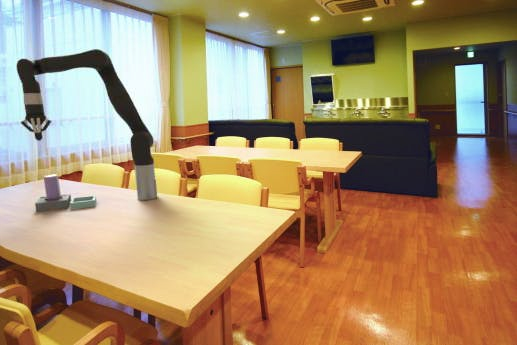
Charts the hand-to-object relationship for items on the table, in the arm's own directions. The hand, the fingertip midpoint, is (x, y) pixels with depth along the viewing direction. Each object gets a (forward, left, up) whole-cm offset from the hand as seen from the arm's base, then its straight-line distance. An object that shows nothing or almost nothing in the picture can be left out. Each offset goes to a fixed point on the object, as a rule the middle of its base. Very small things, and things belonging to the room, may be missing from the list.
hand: (39, 140), depth 174 cm
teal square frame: (-17, +13, -31) cm, 38 cm away
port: (-4, +9, -31) cm, 33 cm away
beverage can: (-4, +9, -31) cm, 33 cm away
